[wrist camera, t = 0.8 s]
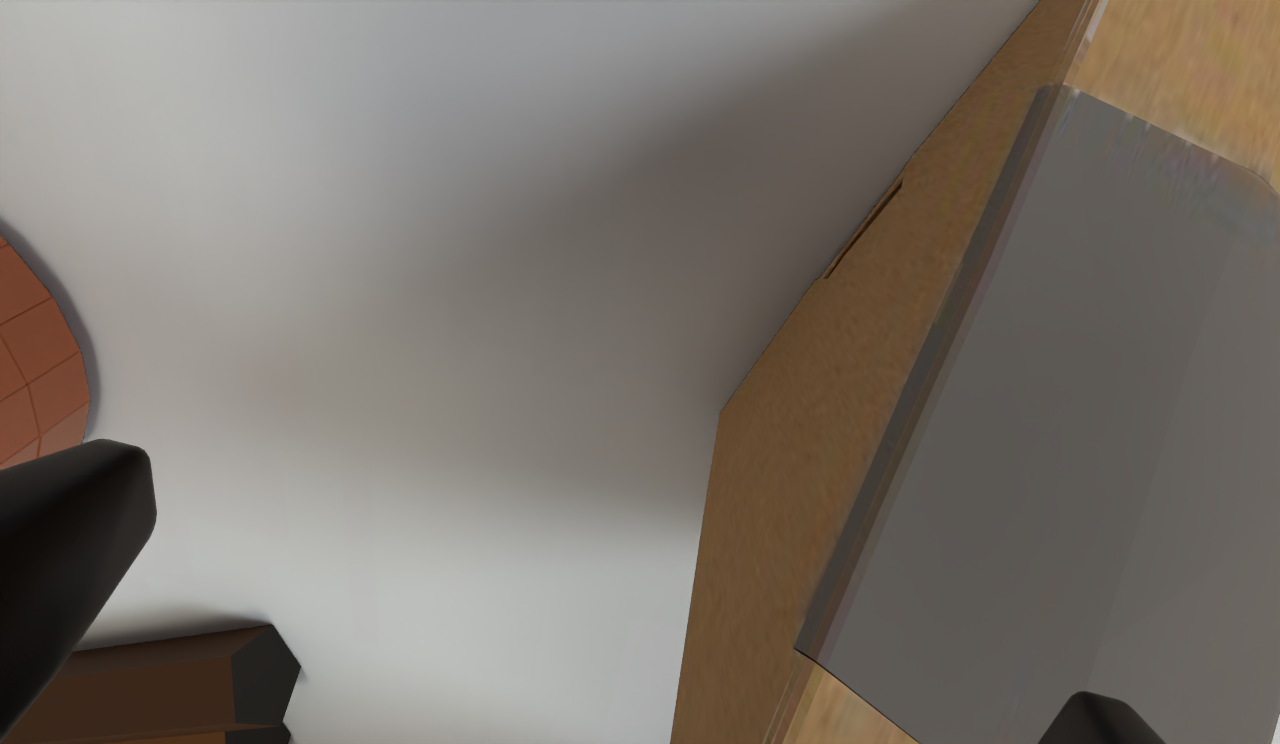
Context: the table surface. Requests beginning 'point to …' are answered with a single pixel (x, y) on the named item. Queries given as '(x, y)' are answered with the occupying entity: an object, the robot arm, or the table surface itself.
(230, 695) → the pan flute
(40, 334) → the flower pot
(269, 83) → the table surface
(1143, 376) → the sandwich container
